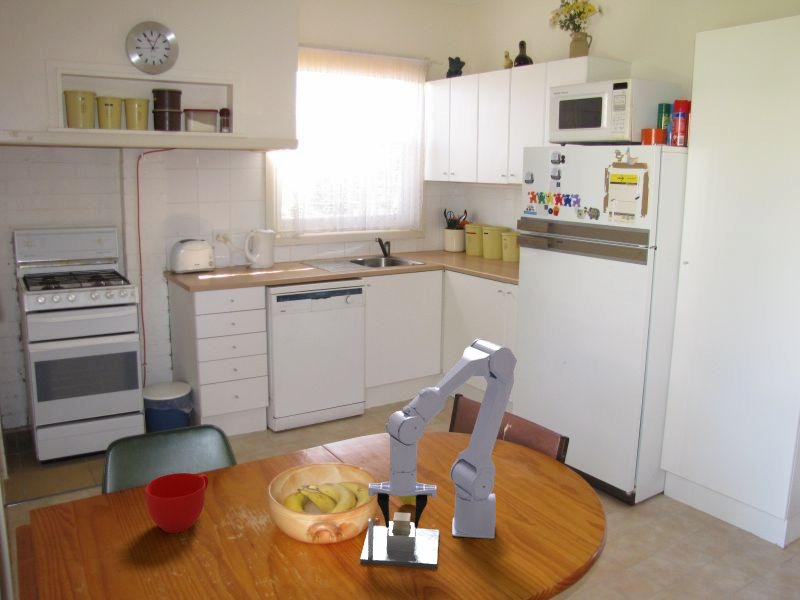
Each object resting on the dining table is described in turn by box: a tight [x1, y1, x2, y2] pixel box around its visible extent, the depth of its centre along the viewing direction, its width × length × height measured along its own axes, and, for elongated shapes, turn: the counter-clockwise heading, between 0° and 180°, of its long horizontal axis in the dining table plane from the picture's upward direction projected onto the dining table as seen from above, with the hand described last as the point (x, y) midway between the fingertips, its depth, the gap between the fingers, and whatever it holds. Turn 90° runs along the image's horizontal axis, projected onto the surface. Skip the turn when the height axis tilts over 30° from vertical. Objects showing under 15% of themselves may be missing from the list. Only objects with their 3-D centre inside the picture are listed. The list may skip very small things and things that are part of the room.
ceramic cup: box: [144, 472, 209, 534], centre depth 162 cm, size 13×17×10 cm
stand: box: [359, 517, 440, 569], centre depth 153 cm, size 16×14×9 cm
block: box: [392, 511, 412, 534], centre depth 153 cm, size 4×4×6 cm
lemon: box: [398, 478, 420, 506], centre depth 173 cm, size 6×6×8 cm
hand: (401, 525), depth 153 cm, fingers open, 5 cm apart
